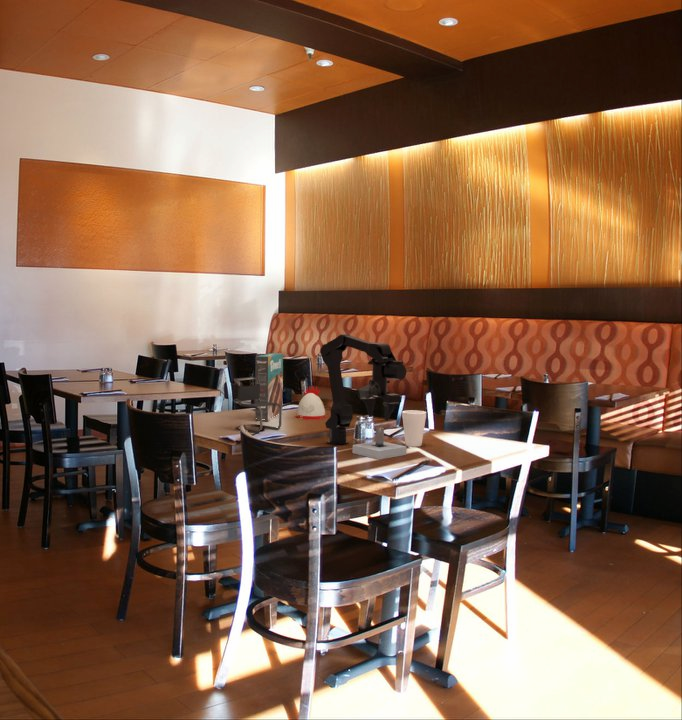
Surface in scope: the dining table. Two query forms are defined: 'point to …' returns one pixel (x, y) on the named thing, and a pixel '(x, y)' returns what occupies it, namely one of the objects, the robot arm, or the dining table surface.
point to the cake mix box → (269, 384)
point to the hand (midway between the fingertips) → (378, 418)
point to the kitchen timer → (311, 405)
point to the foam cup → (413, 427)
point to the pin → (379, 437)
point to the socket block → (379, 450)
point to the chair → (251, 394)
